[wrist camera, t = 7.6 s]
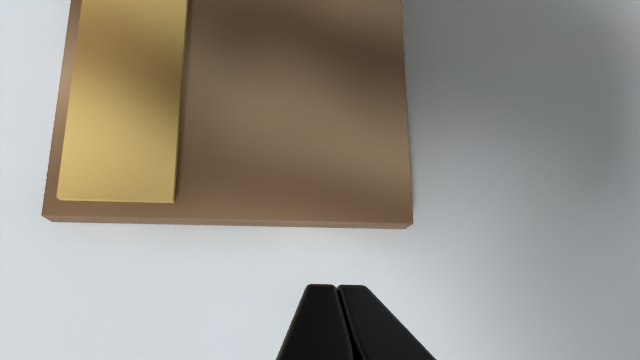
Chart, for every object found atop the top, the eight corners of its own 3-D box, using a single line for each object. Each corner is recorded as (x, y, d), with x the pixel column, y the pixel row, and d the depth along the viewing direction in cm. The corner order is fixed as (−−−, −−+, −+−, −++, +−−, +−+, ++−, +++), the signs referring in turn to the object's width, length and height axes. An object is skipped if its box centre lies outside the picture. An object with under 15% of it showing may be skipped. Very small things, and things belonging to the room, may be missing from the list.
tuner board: (404, 228, 20) (416, 220, 18) (51, 221, 18) (37, 212, 17) (388, -92, 23) (397, -117, 22) (96, -122, 22) (88, -151, 20)
